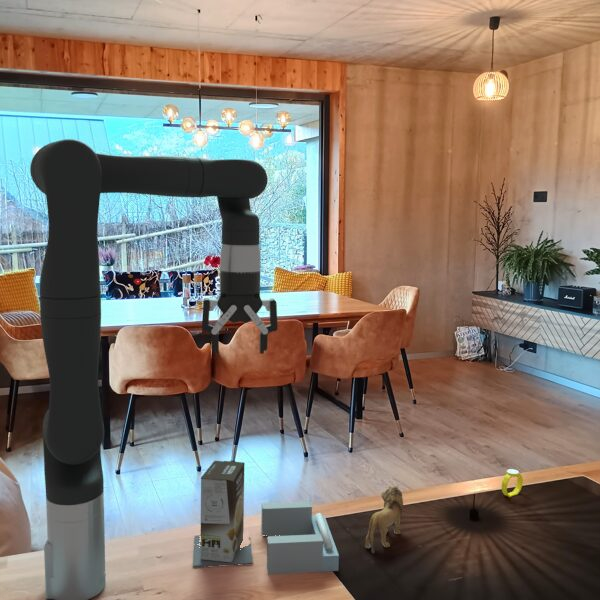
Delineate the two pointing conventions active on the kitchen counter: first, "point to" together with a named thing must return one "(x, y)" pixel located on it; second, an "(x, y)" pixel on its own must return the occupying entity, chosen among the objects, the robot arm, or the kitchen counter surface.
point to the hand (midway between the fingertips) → (239, 352)
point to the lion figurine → (386, 516)
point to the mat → (240, 558)
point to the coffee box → (222, 510)
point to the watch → (506, 479)
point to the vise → (297, 539)
